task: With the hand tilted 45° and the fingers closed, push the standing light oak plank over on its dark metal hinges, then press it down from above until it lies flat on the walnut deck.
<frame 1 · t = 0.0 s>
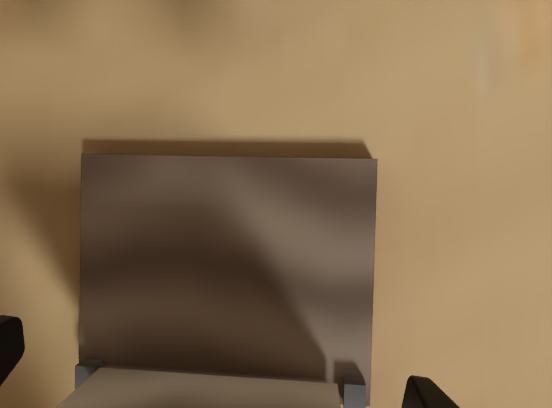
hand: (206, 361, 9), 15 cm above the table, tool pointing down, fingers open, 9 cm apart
walnut deck: (226, 272, 24), on the table
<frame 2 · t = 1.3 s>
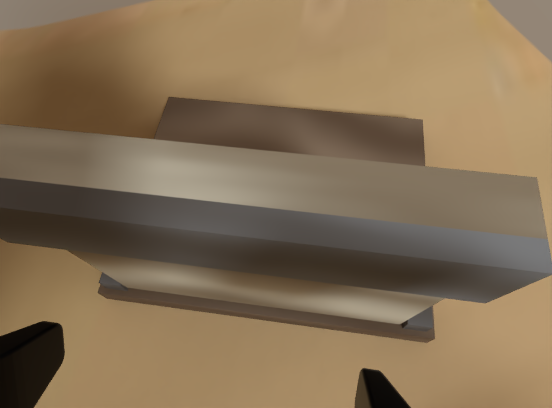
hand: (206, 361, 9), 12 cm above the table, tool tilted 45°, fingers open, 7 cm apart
plank: (249, 263, 14), point 8 cm above the table, hinge at 93.1°
walnut deck: (278, 205, 25), on the table
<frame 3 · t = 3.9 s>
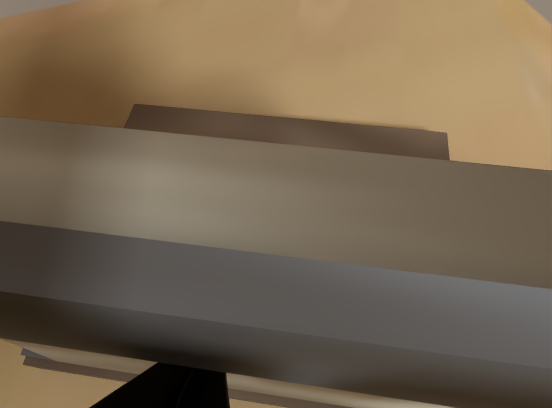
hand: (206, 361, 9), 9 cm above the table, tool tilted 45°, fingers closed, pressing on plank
plank: (214, 338, 9), point 8 cm above the table, hinge at 86.5°, touching gripper
walnut deck: (267, 241, 20), on the table
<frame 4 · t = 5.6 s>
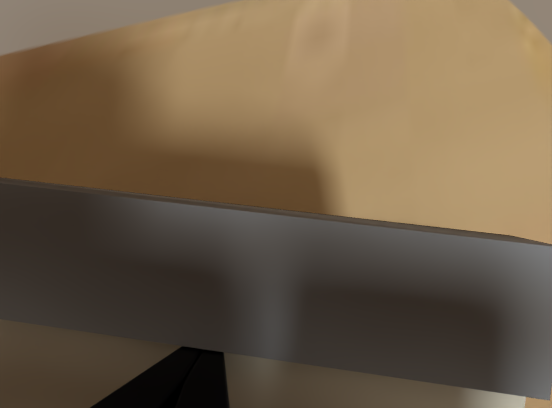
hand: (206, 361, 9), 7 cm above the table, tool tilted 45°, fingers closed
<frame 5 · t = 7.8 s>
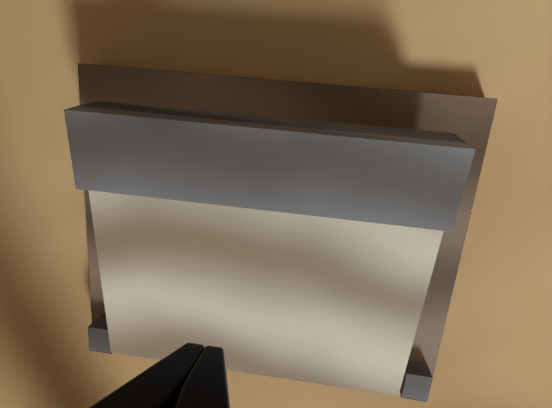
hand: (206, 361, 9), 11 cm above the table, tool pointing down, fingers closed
plank: (257, 262, 16), point 3 cm above the table, hinge at 7.8°
walnut deck: (268, 230, 20), on the table
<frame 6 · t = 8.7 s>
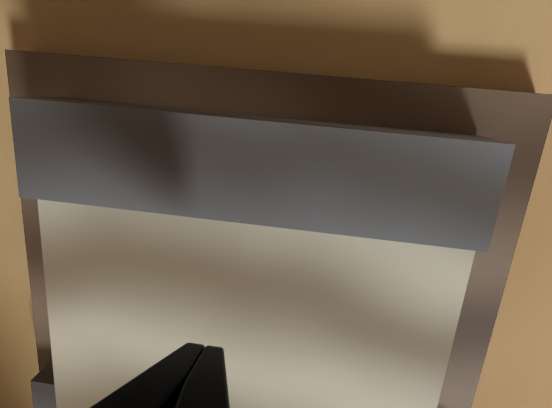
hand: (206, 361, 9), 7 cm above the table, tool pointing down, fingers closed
plank: (242, 295, 13), point 3 cm above the table, hinge at -0.2°
walnut deck: (255, 261, 16), on the table
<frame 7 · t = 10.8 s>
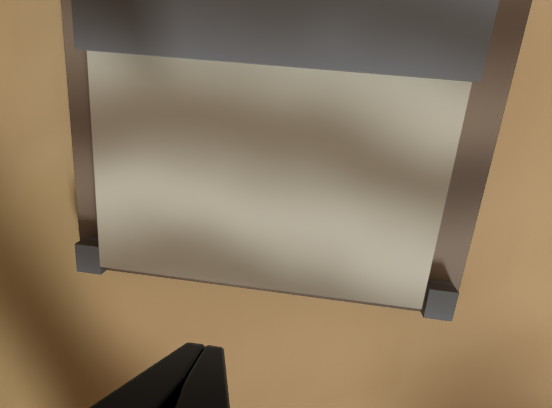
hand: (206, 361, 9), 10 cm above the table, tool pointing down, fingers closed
plank: (266, 147, 15), point 3 cm above the table, hinge at -0.2°
walnut deck: (274, 135, 17), on the table
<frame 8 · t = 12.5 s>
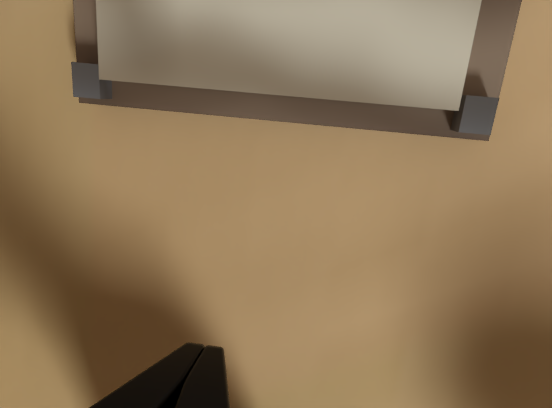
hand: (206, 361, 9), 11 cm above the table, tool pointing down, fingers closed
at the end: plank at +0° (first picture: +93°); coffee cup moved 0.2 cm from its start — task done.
